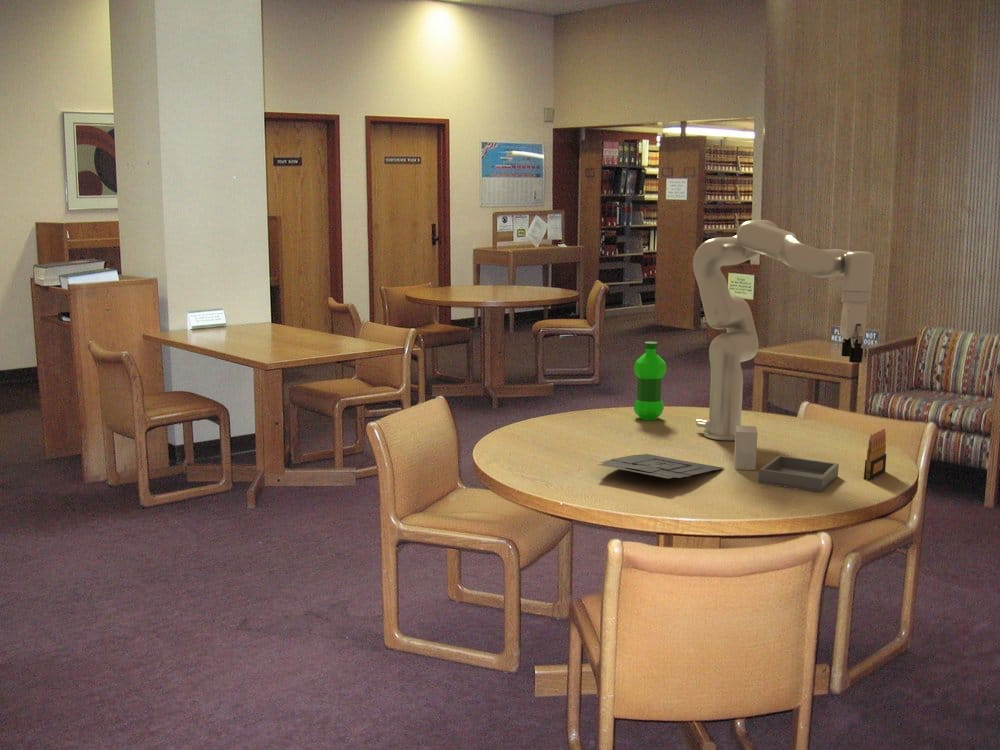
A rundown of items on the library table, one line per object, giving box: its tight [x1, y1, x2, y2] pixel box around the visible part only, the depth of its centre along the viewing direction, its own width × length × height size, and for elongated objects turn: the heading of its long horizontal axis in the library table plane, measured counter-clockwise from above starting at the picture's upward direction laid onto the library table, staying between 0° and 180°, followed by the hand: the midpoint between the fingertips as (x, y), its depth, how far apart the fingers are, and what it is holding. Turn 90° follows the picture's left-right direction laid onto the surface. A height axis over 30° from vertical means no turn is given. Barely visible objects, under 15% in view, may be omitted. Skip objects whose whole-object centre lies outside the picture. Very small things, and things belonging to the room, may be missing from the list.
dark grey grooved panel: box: [597, 453, 724, 480], centre depth 274 cm, size 24×30×4 cm
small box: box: [733, 425, 758, 471], centre depth 281 cm, size 8×6×10 cm
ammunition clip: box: [863, 428, 887, 481], centre depth 273 cm, size 11×2×12 cm, turn 140°
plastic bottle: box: [633, 341, 667, 421], centre depth 336 cm, size 10×10×25 cm
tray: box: [758, 454, 840, 493], centre depth 269 cm, size 16×17×4 cm
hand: (851, 359), depth 285 cm, fingers open, 9 cm apart
